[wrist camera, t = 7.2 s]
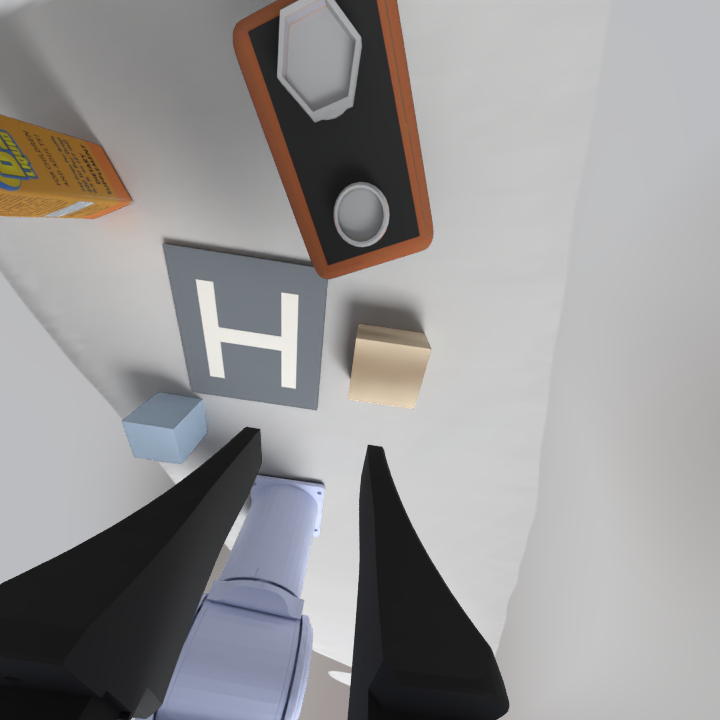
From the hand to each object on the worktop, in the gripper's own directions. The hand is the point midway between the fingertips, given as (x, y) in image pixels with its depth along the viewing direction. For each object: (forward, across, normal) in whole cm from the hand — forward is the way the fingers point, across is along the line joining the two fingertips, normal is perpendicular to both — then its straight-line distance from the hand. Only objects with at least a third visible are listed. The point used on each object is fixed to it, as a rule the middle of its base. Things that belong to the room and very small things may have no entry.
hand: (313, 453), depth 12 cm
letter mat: (+10, +7, 0) cm, 13 cm away
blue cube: (+10, +14, +9) cm, 20 cm away
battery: (+11, 0, -11) cm, 15 cm away
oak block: (+11, -4, 0) cm, 11 cm away
